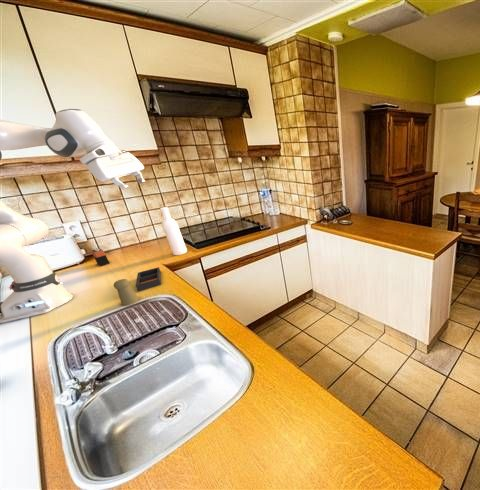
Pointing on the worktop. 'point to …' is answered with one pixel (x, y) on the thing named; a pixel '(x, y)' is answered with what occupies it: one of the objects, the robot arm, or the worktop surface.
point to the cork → (125, 292)
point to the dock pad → (148, 279)
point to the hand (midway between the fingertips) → (134, 185)
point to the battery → (100, 256)
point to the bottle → (173, 233)
